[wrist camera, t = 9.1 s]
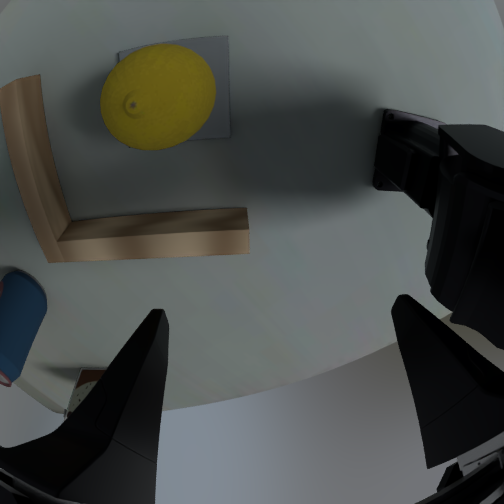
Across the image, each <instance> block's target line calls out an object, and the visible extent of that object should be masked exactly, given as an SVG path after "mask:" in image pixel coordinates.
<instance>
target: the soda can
mask: <svg viewBox="0 0 504 504" xmlns="http://www.w3.org/2000/svg"><path fill="white" fill-rule="evenodd" d="M46 312H47V297H46V293H45V290H44V289H43V287H42V286H41V284H40V283H39V282H38V281H37V280H36V279H35V278H34V277H33V276H31V275H30V274H28V273H26V272H24V271H20V270H18V271H14V272H11V273H8V274H6V275H5V276H4V278H3V279H2V281H1V282H0V384H2V385H4V386H7V387H11V384H12V382H13V381H15V380H16V379H17V378H18V377H19V376H20V375H21V372H22V369H23V366H24V363H25V361H26V358H27V356H28V353H29V351H30V348H31V346H32V343H33V341H34V339H35V336H36V334H37V332H38V329H39V327H40V325H41V323H42V321H43V318H44V316H45V314H46Z"/></svg>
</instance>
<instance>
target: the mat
mask: <svg viewBox="0 0 504 504" xmlns="http://www.w3.org/2000/svg"><path fill="white" fill-rule="evenodd" d="M156 44H176V45H180V46H183V47H185V48H188V49H191V50H192V51H194V52H195V53H197V54H198V55H199V56H201V57H202V58H203V59H204V60H205V62H206V63H207V64H208V65H209V67H210V68H211V71H212V73H213V76H214V78H215V85H216V97H215V103H214V107H213V109H212V111H211V113H210V116H209V118H208V119H207V121H206V122H205V123H204V125H203V126H202V127H201V128H200V130H199V131H197V132H196V133H195V134H194V135H193V136H191V137H190V138H189V139H187V140H198V139H212V138H230V103H229V55H228V36H213V37H200V38H191V39H182V40H175V41H168V42H162V43H156ZM156 44H151V45H156ZM151 45H146V46H151ZM146 46H141V47H137V48H132V49H128V50H124V51H120V52H119V61H121V60H122V59H124V58H125V57H126V56H128V55H129V54H130V53H132V52H134V51H137V50H139V49H141V48H143V47H146ZM129 148H130V147H129Z"/></svg>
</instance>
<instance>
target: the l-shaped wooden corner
mask: <svg viewBox="0 0 504 504" xmlns="http://www.w3.org/2000/svg"><path fill="white" fill-rule="evenodd" d="M0 107H1V114H2V121H3V127H4V132H5V137H6V142H7V147H8V151H9V155H10V159H11V163H12V167H13V171H14V174H15V178H16V181H17V184H18V188H19V191H20V194H21V197H22V200H23V203H24V206H25V208H26V211H27V214H28V217H29V219H30V222H31V224H32V227H33V229H34V232H35V234H36V237H37V239H38V241H39V243H40V246H41V248H42V250H43V252H44V255H45V257H46V259H47V261H48V263H56V262H79V261H102V260H124V259H146V258H168V257H190V256H212V255H233V254H250V253H249V223H248V215H247V208H231V209H211V210H194V211H179V212H165V213H152V214H140V215H129V216H119V217H109V218H99V219H90V220H81V221H73V222H72V221H71V218H70V215H69V212H68V209H67V206H66V203H65V200H64V196H63V193H62V190H61V186H60V183H59V179H58V175H57V172H56V168H55V164H54V160H53V155H52V151H51V146H50V142H49V137H48V131H47V126H46V120H45V114H44V107H43V99H42V90H41V80H40V74H39V75H34V76H29V77H24V78H20V79H16V80H14V81H12V82H11V83H9V84H7V85H5V86H4V87H2V88H1V89H0Z"/></svg>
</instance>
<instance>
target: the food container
mask: <svg viewBox="0 0 504 504" xmlns="http://www.w3.org/2000/svg"><path fill="white" fill-rule="evenodd" d="M106 369H107V368H81V370H80V372H79V375H78V378H77V381H76V383H75V386H74V389H73V392H72V395H71V398H70V401H69V405H68V408H67V410H66V409H64V417H65V418H64V421H65V420H66V419H67V418H68V416H69V415H70V414H71V413H72V412H73V411H74V410H75V409H76V407H77V406H78V405H79V404H80V403H81V402H82V400H83V399H84V398H85V397H86V396H87V395H88V393H89V392H90V391H91V389H92V388H93V387H94V385H95V384H96V383H97V381H98V380H99V379H100V378H101V376H102V374H103V373H104V372H105V370H106Z"/></svg>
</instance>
